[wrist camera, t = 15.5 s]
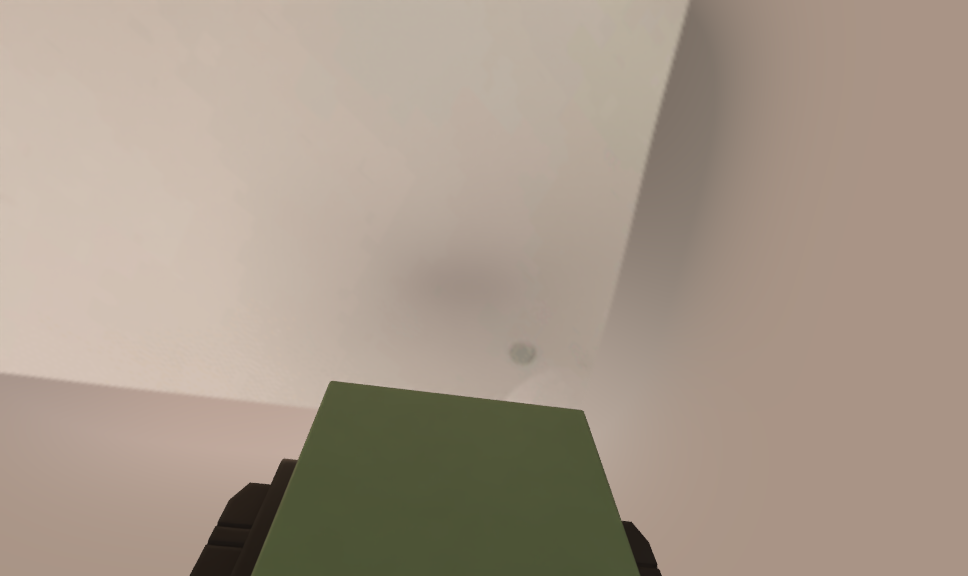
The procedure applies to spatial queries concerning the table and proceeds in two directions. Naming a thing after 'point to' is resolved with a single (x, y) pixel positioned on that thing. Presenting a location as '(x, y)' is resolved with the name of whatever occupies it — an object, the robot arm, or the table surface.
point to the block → (445, 491)
